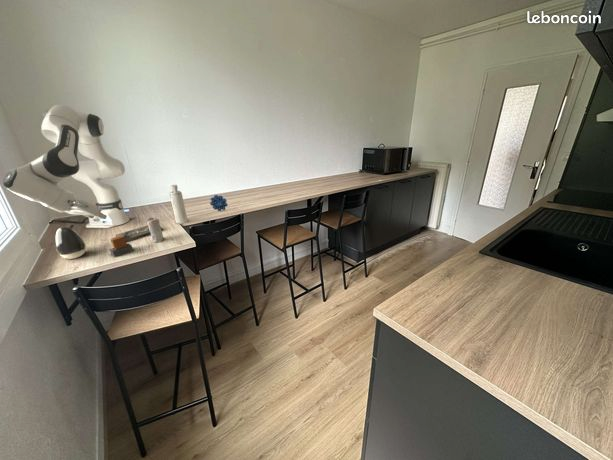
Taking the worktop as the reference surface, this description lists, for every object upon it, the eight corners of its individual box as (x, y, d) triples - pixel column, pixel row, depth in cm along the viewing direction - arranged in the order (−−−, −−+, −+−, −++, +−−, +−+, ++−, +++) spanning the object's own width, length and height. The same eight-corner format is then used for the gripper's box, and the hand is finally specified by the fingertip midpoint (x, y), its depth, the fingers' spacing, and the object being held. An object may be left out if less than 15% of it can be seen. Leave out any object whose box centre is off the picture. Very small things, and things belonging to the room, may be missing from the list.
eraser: (114, 257, 118) (108, 241, 115) (111, 254, 121) (105, 239, 117) (133, 250, 124) (128, 235, 121) (130, 248, 126) (125, 233, 123)
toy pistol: (124, 242, 133) (123, 240, 132) (116, 237, 139) (115, 234, 139) (163, 230, 147) (162, 228, 146) (153, 226, 154) (153, 223, 153)
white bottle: (175, 223, 156) (165, 184, 146) (177, 220, 162) (168, 181, 152) (186, 223, 157) (177, 183, 147) (188, 219, 163) (180, 181, 153)
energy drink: (161, 237, 138) (155, 216, 133) (165, 239, 135) (160, 219, 130) (151, 240, 134) (144, 219, 130) (155, 243, 131) (149, 222, 127)
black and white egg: (94, 250, 125) (82, 222, 119) (77, 261, 115) (64, 231, 109) (73, 251, 125) (61, 222, 119) (55, 262, 115) (40, 231, 109)
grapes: (213, 214, 171) (210, 197, 167) (210, 211, 177) (207, 195, 172) (230, 211, 177) (227, 194, 172) (227, 208, 182) (224, 192, 177)
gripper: (81, 194, 95) (116, 211, 107) (54, 193, 104) (90, 210, 115) (71, 208, 93) (109, 224, 105) (45, 207, 101) (82, 222, 113)
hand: (99, 217), depth 110 cm, fingers open, 8 cm apart
